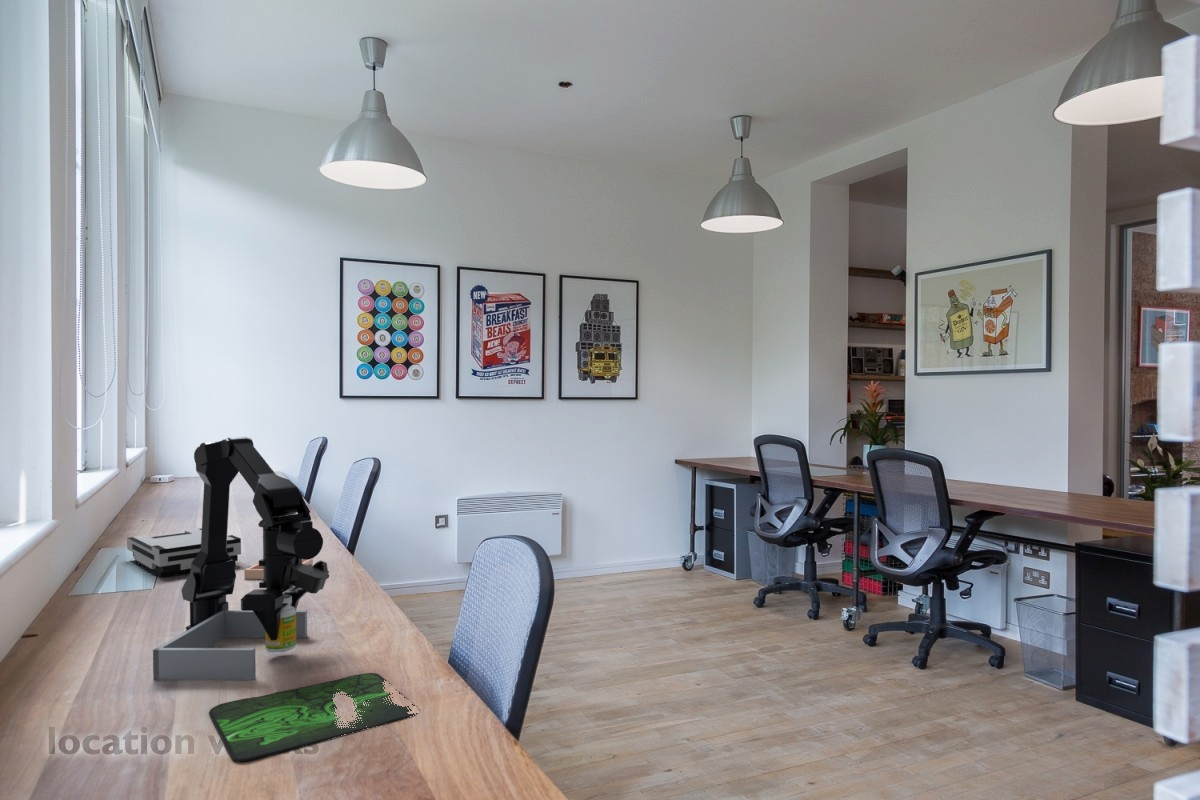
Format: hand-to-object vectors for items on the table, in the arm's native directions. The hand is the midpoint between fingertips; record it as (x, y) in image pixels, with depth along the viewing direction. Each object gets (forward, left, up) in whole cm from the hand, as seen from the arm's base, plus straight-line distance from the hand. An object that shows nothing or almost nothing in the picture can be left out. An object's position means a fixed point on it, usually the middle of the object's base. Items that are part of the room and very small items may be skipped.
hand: (281, 634), depth 142 cm
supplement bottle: (0, 0, -3) cm, 3 cm away
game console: (-63, +75, -5) cm, 98 cm away
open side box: (-9, 0, -4) cm, 10 cm away
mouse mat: (+16, -24, -5) cm, 29 cm away
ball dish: (-29, +63, -4) cm, 70 cm away
